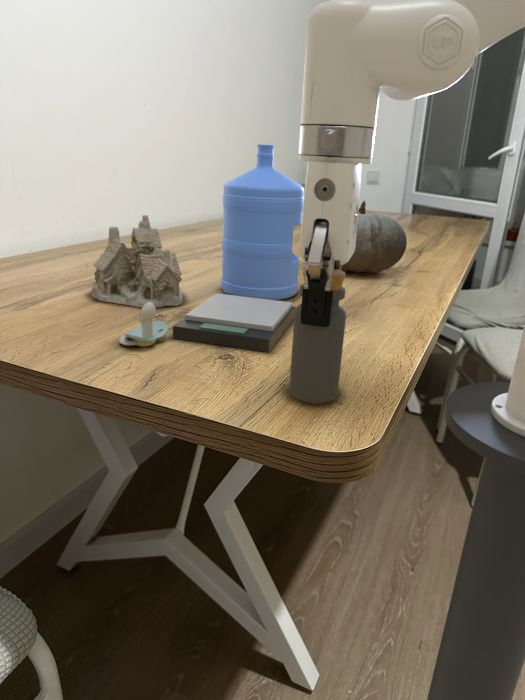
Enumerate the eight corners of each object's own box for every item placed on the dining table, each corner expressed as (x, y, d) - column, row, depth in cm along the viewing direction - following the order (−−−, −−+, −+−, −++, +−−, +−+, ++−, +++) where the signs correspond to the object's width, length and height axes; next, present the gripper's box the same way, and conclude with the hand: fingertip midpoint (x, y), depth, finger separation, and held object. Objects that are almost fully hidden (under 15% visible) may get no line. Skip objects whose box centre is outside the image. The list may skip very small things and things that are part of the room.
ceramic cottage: (88, 287, 102) (86, 210, 95) (171, 286, 108) (174, 213, 102) (96, 316, 88) (94, 228, 82) (190, 313, 95) (194, 231, 89)
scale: (294, 317, 91) (296, 302, 90) (268, 352, 75) (269, 334, 74) (214, 307, 94) (214, 292, 93) (172, 338, 78) (172, 320, 77)
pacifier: (109, 346, 74) (144, 353, 72) (105, 304, 72) (141, 309, 70) (141, 332, 80) (173, 337, 78) (138, 292, 78) (171, 297, 76)
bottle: (282, 398, 61) (290, 273, 56) (297, 379, 66) (306, 263, 61) (330, 408, 59) (344, 280, 54) (342, 388, 64) (355, 269, 59)
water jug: (245, 306, 96) (251, 143, 86) (207, 286, 108) (209, 142, 98) (312, 297, 104) (325, 147, 94) (270, 279, 116) (277, 145, 106)
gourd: (317, 269, 115) (328, 189, 112) (288, 264, 139) (296, 198, 136) (418, 281, 121) (431, 205, 118) (374, 274, 145) (383, 211, 142)
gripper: (365, 147, 44) (343, 346, 50) (378, 150, 59) (360, 301, 66) (279, 143, 46) (269, 335, 52) (314, 146, 61) (302, 294, 68)
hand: (320, 315), depth 59 cm, fingers closed on bottle, 5 cm apart
